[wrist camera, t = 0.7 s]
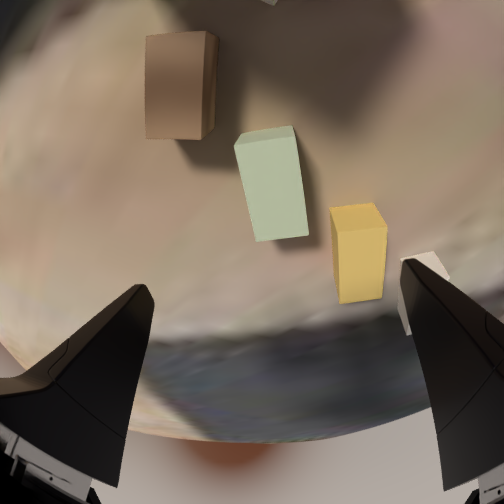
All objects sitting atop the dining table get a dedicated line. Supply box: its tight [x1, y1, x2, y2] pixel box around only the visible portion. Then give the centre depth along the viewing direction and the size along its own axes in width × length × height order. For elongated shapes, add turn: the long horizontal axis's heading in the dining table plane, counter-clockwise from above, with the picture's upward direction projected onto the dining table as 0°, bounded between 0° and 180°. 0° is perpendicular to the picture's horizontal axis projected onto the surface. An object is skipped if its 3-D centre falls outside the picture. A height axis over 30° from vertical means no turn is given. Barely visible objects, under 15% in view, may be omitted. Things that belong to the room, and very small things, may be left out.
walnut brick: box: [145, 31, 219, 140], centre depth 14 cm, size 6×3×4 cm, turn 176°
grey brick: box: [397, 251, 449, 335], centre depth 21 cm, size 6×3×4 cm, turn 16°
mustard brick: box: [329, 203, 387, 304], centre depth 20 cm, size 6×3×4 cm, turn 12°
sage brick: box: [234, 125, 309, 242], centre depth 17 cm, size 6×3×4 cm, turn 11°
